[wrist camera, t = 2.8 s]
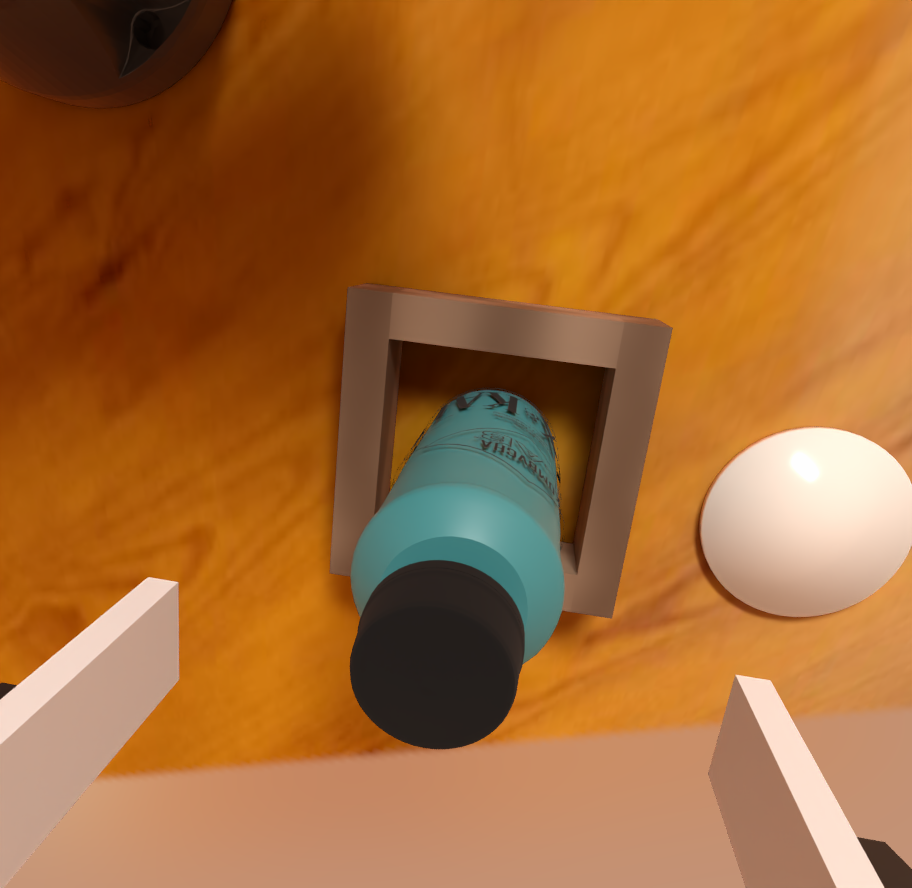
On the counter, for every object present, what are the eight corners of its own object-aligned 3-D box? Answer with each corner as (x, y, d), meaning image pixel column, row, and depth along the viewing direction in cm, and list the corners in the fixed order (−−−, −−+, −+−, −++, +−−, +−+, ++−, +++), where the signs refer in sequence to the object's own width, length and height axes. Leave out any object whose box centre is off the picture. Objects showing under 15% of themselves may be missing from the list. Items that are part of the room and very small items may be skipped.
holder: (348, 543, 36) (329, 573, 33) (367, 283, 32) (347, 287, 29) (604, 583, 35) (611, 618, 32) (657, 319, 31) (672, 328, 28)
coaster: (680, 595, 35) (682, 600, 34) (724, 413, 32) (727, 415, 31) (876, 626, 34) (881, 631, 34) (940, 442, 31) (946, 445, 31)
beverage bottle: (527, 518, 35) (518, 848, 16) (409, 472, 35) (256, 745, 16) (577, 405, 33) (637, 626, 14) (452, 356, 33) (336, 508, 14)
